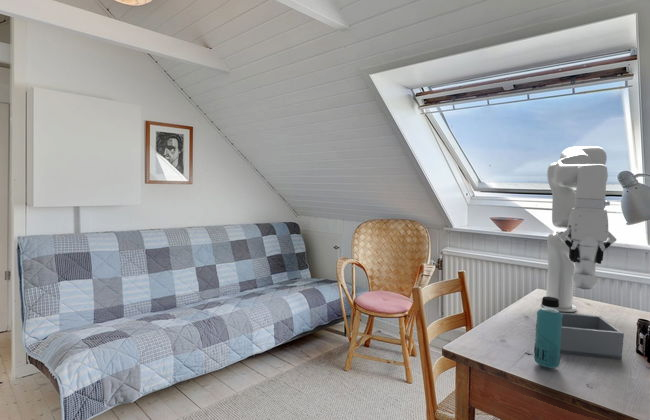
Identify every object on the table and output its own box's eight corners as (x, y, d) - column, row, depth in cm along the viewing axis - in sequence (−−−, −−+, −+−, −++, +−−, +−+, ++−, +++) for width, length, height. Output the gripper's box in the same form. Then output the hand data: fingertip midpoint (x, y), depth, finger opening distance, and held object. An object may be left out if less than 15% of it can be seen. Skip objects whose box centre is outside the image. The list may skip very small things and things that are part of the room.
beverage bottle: (562, 367, 110) (567, 297, 108) (556, 376, 105) (561, 303, 103) (536, 360, 114) (540, 292, 113) (530, 367, 109) (534, 297, 108)
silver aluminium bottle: (574, 290, 121) (579, 225, 119) (568, 284, 127) (572, 223, 126) (599, 292, 119) (604, 227, 117) (591, 286, 125) (596, 224, 124)
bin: (542, 334, 134) (543, 311, 133) (598, 339, 130) (600, 316, 129) (557, 352, 119) (559, 327, 119) (621, 359, 116) (623, 333, 115)
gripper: (615, 204, 123) (611, 261, 124) (554, 203, 127) (550, 258, 128) (628, 206, 115) (623, 266, 117) (562, 204, 119) (558, 262, 121)
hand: (585, 261), depth 122 cm, fingers closed on silver aluminium bottle, 6 cm apart
